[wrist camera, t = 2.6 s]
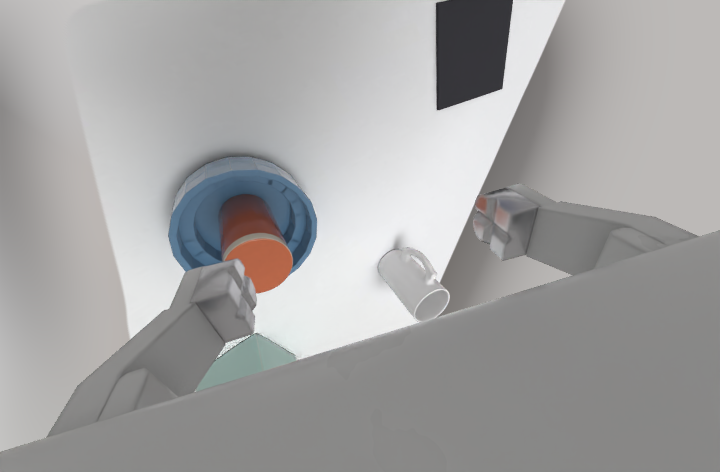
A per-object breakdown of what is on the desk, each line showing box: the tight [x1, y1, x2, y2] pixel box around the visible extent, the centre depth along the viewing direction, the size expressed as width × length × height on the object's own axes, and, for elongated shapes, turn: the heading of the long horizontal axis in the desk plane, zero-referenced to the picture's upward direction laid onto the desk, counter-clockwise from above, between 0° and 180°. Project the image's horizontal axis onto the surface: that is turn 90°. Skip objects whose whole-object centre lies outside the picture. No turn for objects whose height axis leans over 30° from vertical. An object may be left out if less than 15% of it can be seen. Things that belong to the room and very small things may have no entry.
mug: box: [378, 247, 450, 323], centre depth 47 cm, size 10×7×12 cm, turn 174°
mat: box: [436, 0, 513, 110], centre depth 38 cm, size 12×12×1 cm
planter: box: [196, 334, 296, 392], centre depth 40 cm, size 16×8×20 cm, turn 72°
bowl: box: [168, 157, 317, 276], centre depth 34 cm, size 15×15×6 cm
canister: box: [218, 194, 293, 293], centre depth 31 cm, size 6×6×11 cm
